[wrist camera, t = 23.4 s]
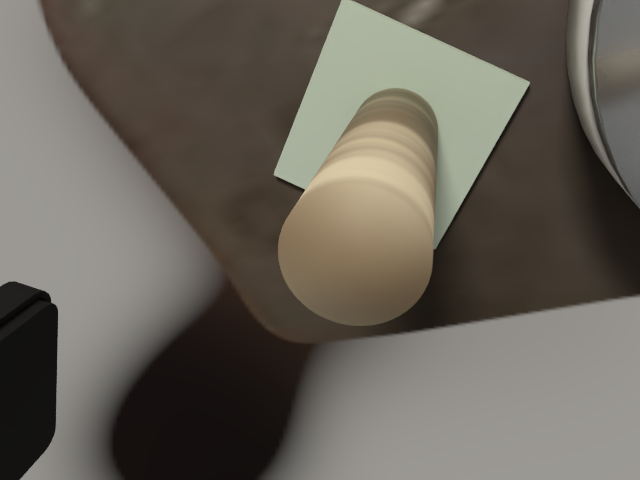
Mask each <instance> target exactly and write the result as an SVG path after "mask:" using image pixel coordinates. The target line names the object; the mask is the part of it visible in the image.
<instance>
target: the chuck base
mask: <svg viewBox="0 0 640 480" xmlns="http://www.w3.org/2000/svg"><path fill="white" fill-rule="evenodd" d="M593 2H594V0H569V6H568V17H567V27H566V57H567V72H568V77H569V83H570V88H571V94H572V99H573V102H574V105H575V108H576V111H577V114H578V117H579V120H580V123H581V126H582V128H583V130H584V132H585V134H586V136H587V138H588V140H589V142H590V144H591V146H592V148H593V150H594V152H595V153H596V155H597V156H598V158H599V159H600V160H601V162H602V163H603V164H604V166H605V167H606V169H607V170H608V171H609V173H610V174H611V175H612V177H613V178H614V179H615V180H616V181H617V183H618V184H619V185H620V186H621V187H622V188H623V190H624V191H625V192H626V193H627V191H626V190H625V188H624V187H623V185H622V183H621V181H620V179H619V178H618V176H617V174H616V172H615V171H614V169H613V167H612V165H611V164H610V162H609V159H608V157H607V154H606V151H605V149H604V146H603V143H602V141H601V138H600V135H599V133H598V130H597V126H596V121H595V117H594V112H593V107H592V102H591V97H590V89H589V73H588V57H587V56H588V43H589V30H590V16H591V11H592V6H593ZM627 194H628V193H627ZM628 196H629V197H630V198H631V196H630V195H629V194H628ZM631 199H632V198H631ZM632 200H633V199H632ZM633 201H634V200H633ZM634 203H635V201H634ZM635 204H636V203H635ZM636 205H637V204H636ZM637 206H638V205H637ZM638 207H639V206H638Z"/></svg>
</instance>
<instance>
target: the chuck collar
mask: <svg viewBox="0 0 640 480" xmlns="http://www.w3.org/2000/svg"><path fill="white" fill-rule="evenodd" d="M587 57H588V73H589V89H590V97H591V102H592V107H593V112H594V117H595V121H596V126H597V130H598V133H599V135H600V138H601V141H602V143H603V146H604V149H605V151H606V154H607V157H608V159H609V162H610V164H611V165H612V167H613V169H614V171H615V172H616V174H617V176H618V178H619V179H620V181H621V183H622V185H623V187H624V188H625V190H626V191H627V193H628V194H629V195H630V196H631V198H632V199H633V200H634V201H635V203H636V204H637V205H638V206H639V208H640V0H594V2H593V6H592V11H591V16H590V30H589V43H588V56H587Z"/></svg>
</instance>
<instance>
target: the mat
mask: <svg viewBox="0 0 640 480" xmlns="http://www.w3.org/2000/svg"><path fill="white" fill-rule="evenodd" d="M529 84H530V82H529V81H527V80H524V79H522V78H520V77H518V76H516V75H514V74H511V73H509V72H507V71H505V70H503V69H500V68H498V67H496V66H494V65H492V64H490V63H487V62H485V61H483V60H481V59H479V58H476V57H474V56H472V55H470V54H468V53H466V52H463V51H461V50H459V49H457V48H455V47H453V46H450V45H448V44H446V43H444V42H442V41H439V40H437V39H435V38H433V37H431V36H429V35H426V34H424V33H422V32H420V31H418V30H415V29H413V28H411V27H409V26H407V25H405V24H402V23H400V22H398V21H396V20H394V19H392V18H389V17H387V16H385V15H383V14H381V13H378V12H376V11H374V10H372V9H370V8H368V7H365V6H363V5H361V4H359V3H357V2H354V1H352V0H342V1H341V3H340V6H339V9H338V11H337V14H336V16H335V19H334V21H333V24H332V26H331V29H330V32H329V34H328V37H327V39H326V42H325V44H324V47H323V49H322V52H321V55H320V57H319V60H318V62H317V65H316V67H315V70H314V72H313V75H312V78H311V80H310V83H309V85H308V88H307V90H306V93H305V95H304V98H303V101H302V103H301V106H300V108H299V111H298V113H297V116H296V118H295V121H294V124H293V126H292V129H291V131H290V134H289V136H288V139H287V141H286V144H285V146H284V149H283V152H282V154H281V157H280V159H279V162H278V164H277V167H276V169H275V172H274V175H275V176H277V177H279V178H281V179H283V180H286V181H288V182H290V183H292V184H294V185H296V186H299V187H301V188H303V189H305V190H306V188H307V187H308V185H309V184H310V182H311V181H312V179H313V178H314V176H315V175H316V173H317V172H318V170H319V169H320V167H321V166H322V164H323V162H324V161H325V159H326V158H327V156H328V155H329V153H330V152H331V150H332V149H333V147H334V146H335V144H336V143H337V141H338V140H339V138H340V137H341V135H342V133H343V132H344V130H345V129H346V127H347V126H348V124H349V123H350V121H351V120H352V118H353V117H354V115H355V114H356V112H357V111H358V109H359V108H360V106H361V105H362V104H363V102H364V101H365V100H366V99H367V98H369V97H370V96H371V95H373V94H375V93H377V92H379V91H381V90H384V89H389V88H402V89H407V90H410V91H413V92H415V93H417V94H418V95H420V96H421V97H423V98H424V99H425V100H426V101H427V102H428V103H429V105H430V106H431V108H432V109H433V111H434V113H435V115H436V119H437V123H438V146H437V171H436V196H435V220H434V245H433V249H436V247H437V246H438V244H439V242H440V240H441V239H442V237H443V235H444V233H445V232H446V230H447V228H448V226H449V225H450V223H451V221H452V219H453V218H454V216H455V214H456V212H457V211H458V209H459V207H460V205H461V203H462V202H463V200H464V198H465V196H466V195H467V193H468V191H469V189H470V188H471V186H472V184H473V182H474V181H475V179H476V177H477V175H478V174H479V172H480V170H481V168H482V167H483V165H484V163H485V161H486V160H487V158H488V156H489V154H490V153H491V151H492V149H493V147H494V146H495V144H496V142H497V140H498V139H499V137H500V135H501V133H502V132H503V130H504V128H505V126H506V124H507V123H508V121H509V119H510V117H511V116H512V114H513V112H514V110H515V109H516V107H517V105H518V103H519V102H520V100H521V98H522V96H523V95H524V93H525V91H526V89H527V88H528V86H529Z"/></svg>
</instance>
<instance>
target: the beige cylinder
mask: <svg viewBox="0 0 640 480" xmlns="http://www.w3.org/2000/svg"><path fill="white" fill-rule="evenodd" d="M437 146H438V123H437V119H436V115H435V113H434V111H433V109H432V108H431V106H430V105H429V103H428V102H427V101H426V100H425V99H424V98H423V97H421V96H420V95H418V94H417V93H415V92H413V91H410V90H407V89H402V88H389V89H384V90H381V91H379V92H377V93H375V94H373V95H371V96H370V97H369V98H367V99H366V100H365V101H364V102H363V104H362V105H361V106H360V108H359V109H358V111H357V112H356V114H355V115H354V117H353V118H352V120H351V121H350V123H349V124H348V126H347V127H346V129H345V130H344V132H343V133H342V135H341V137H340V138H339V140H338V141H337V143H336V144H335V146H334V147H333V149H332V150H331V152H330V153H329V155H328V156H327V158H326V159H325V161H324V162H323V164H322V166H321V167H320V169H319V170H318V172H317V173H316V175H315V176H314V178H313V179H312V181H311V182H310V184H309V185H308V187H307V188H306V190H305V191H304V193H303V194H302V196H301V198H300V199H299V201H298V202H297V204H296V205H295V207H294V208H293V210H292V211H291V213H290V214H289V216H288V217H287V219H286V221H285V223H284V225H283V227H282V230H281V233H280V236H279V243H278V258H279V264H280V268H281V272H282V274H283V277H284V279H285V281H286V283H287V285H288V287H289V288H290V290H291V291H292V292H293V294H294V295H295V296H296V297H297V298H298V299H299V300H300V302H301V303H303V304H304V305H305V306H306V307H307V308H309V309H310V310H311V311H313V312H314V313H316V314H318V315H320V316H322V317H324V318H326V319H328V320H331V321H334V322H337V323H341V324H345V325H353V326H367V325H375V324H380V323H384V322H387V321H390V320H392V319H394V318H396V317H398V316H400V315H402V314H403V313H405V312H406V311H408V310H409V309H410V308H411V307H412V306H413V305H414V304H415V303H416V302H417V301H418V300H419V299H420V297H421V296H422V294H423V293H424V291H425V289H426V287H427V285H428V283H429V280H430V276H431V273H432V265H433V245H434V220H435V196H436V171H437Z"/></svg>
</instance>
